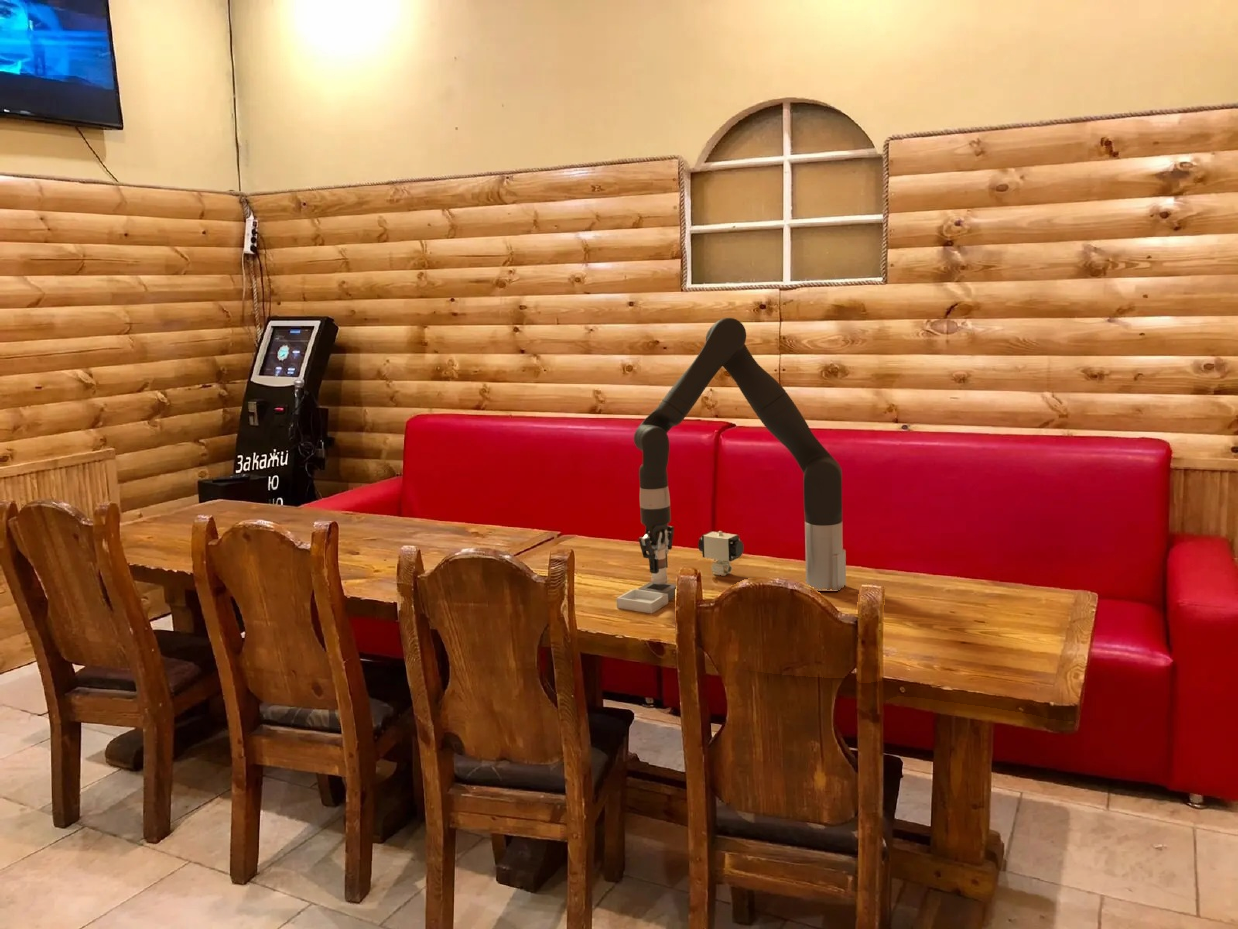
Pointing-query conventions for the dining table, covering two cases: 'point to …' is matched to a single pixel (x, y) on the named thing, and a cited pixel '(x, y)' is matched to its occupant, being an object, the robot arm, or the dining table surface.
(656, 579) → the fuse
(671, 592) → the dark gray recessed holder
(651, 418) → the robot arm
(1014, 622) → the dining table surface
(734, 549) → the pneumatic valve
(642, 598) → the tray
